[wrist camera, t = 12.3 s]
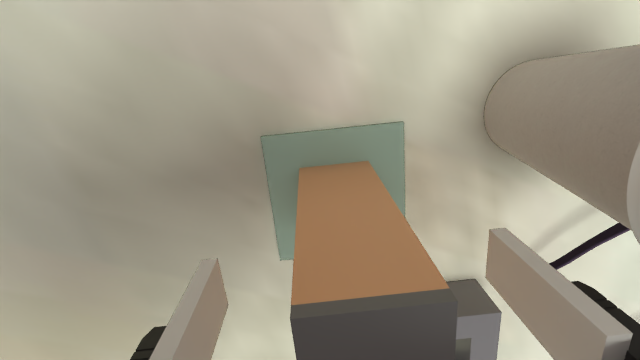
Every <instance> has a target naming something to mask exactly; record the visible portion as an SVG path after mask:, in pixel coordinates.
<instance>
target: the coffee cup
mask: <svg viewBox="0 0 640 360" xmlns="http://www.w3.org/2000/svg"><path fill="white" fill-rule="evenodd" d="M484 123H485V128H486V131H487V133H488V135H489V137H490V138H491V140H492V141H493V142H494V143H495V144H496V145H497V146H499V147H500V148H502V149H503V150H505V151H506V152H508V153H510V154H511V155H513V156H514V157H516V158H518V159H519V160H521V161H522V162H524V163H526V164H527V165H529V166H530V167H532V168H534V169H535V170H537V171H538V172H540V173H542V174H543V175H545V176H546V177H548V178H550V179H551V180H553V181H554V182H556V183H558V184H559V185H561V186H562V187H564V188H566V189H567V190H569V191H570V192H572V193H573V194H575V195H577V196H578V197H580V198H581V199H583V200H585V201H586V202H588V203H589V204H591V205H592V206H594V207H596V208H597V209H599V210H600V211H602V212H604V213H605V214H607V215H608V216H610V217H611V218H613V219H615V220H616V221H618V222H619V223H621V224H622V225H624V226H625V227H627V228H629V229H630V230H632V231H633V233H634V235H635V237H636V239H637V241H638V242H639V244H640V45H633V46H626V47H619V48H613V49H606V50H599V51H592V52H585V53H578V54H571V55H564V56H557V57H550V58H543V59H536V60H531V61H527V62H523V63H521V64H519V65H517V66H515V67H513V68H511V69H510V70H509V71H507V72H506V73H505V74H504V75H503V76H502V77H501V78H500V79H499V80H498V81H497V82H496V83H495V85H494V86H493V88H492V90H491V91H490V93H489V95H488V98H487V101H486V104H485V109H484Z"/></svg>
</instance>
